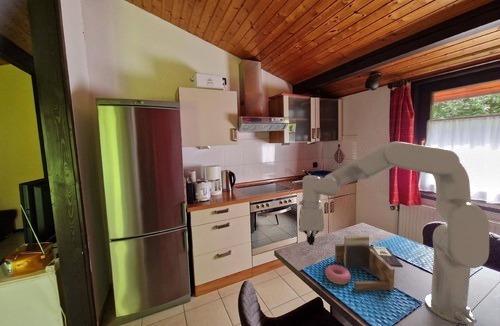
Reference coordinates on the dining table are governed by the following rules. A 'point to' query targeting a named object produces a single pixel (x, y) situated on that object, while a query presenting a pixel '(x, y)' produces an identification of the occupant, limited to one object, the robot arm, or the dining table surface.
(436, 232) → the robot arm
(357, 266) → the dark grey square tile
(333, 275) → the doughnut
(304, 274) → the dining table surface
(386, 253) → the chocolate bar
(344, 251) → the wooden frame
